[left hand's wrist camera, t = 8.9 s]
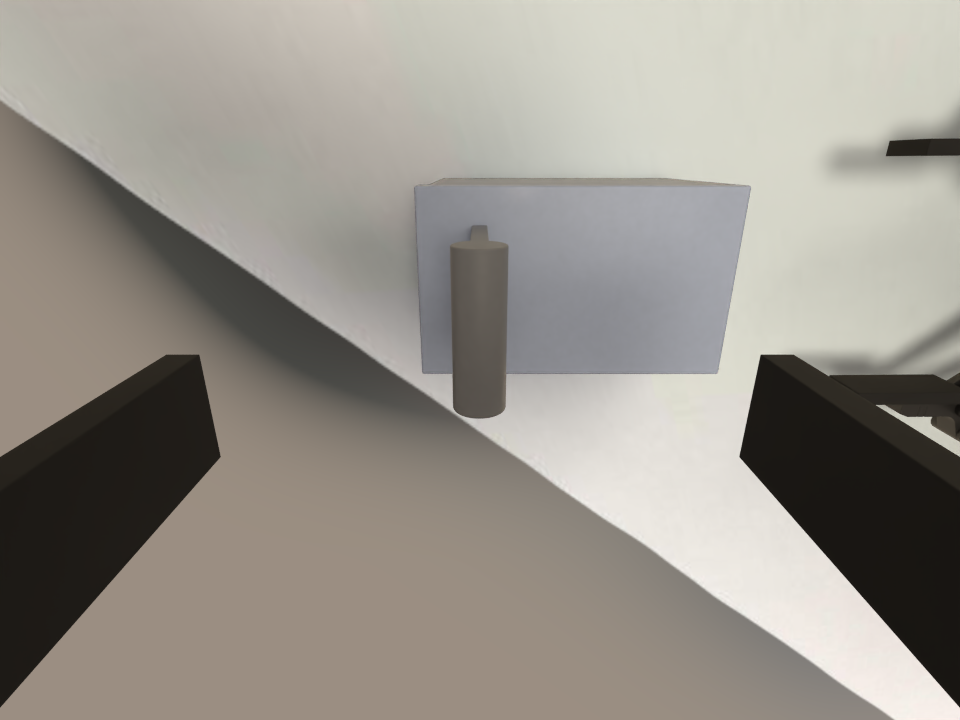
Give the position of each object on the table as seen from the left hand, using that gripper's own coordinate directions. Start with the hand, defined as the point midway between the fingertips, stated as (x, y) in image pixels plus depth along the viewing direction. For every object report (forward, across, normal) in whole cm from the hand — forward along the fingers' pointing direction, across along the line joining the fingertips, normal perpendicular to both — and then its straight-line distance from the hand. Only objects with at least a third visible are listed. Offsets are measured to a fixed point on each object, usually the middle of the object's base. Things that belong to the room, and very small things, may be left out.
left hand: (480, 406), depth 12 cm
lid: (+14, +5, 0) cm, 15 cm away
